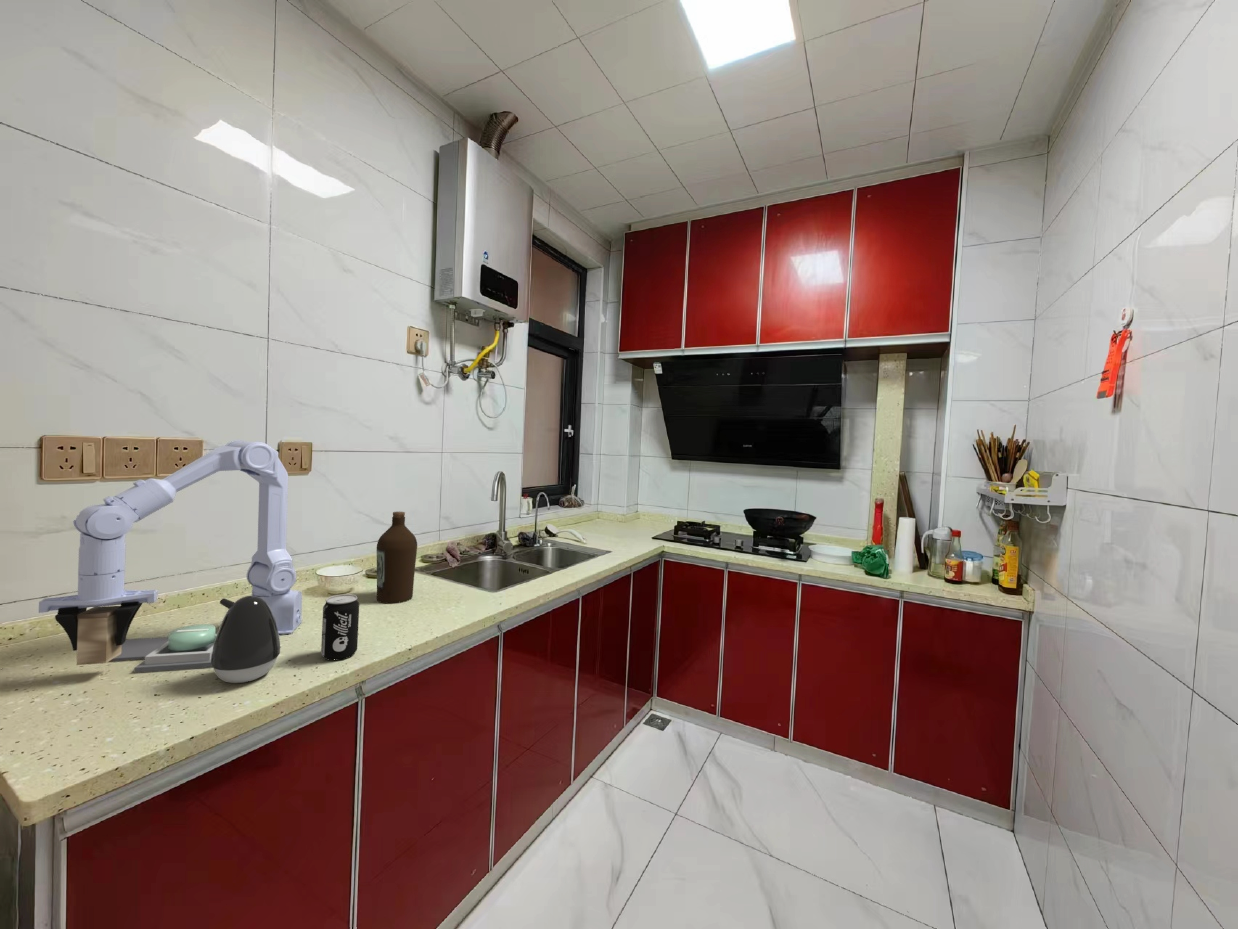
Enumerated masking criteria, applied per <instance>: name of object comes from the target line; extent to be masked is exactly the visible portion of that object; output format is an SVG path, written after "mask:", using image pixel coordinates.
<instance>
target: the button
mask: <svg viewBox="0 0 1238 929" xmlns="http://www.w3.org/2000/svg"><path fill="white" fill-rule="evenodd" d="M215 634H216V626H215V625H213V624H207V623H206V624H194V625H187V626H184V627H180V628H176V629H173V630H172V631H170V632H169V633H168V636H167V637H168V648H169V649H170V650H175V651H183V650H192V649H197V648H201V647H204V646H207V645H209V644H211V643H213V642H214V641H215Z"/></svg>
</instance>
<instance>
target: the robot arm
mask: <svg viewBox="0 0 1238 929" xmlns="http://www.w3.org/2000/svg"><path fill="white" fill-rule="evenodd" d="M224 471H225V472H226V471H227V472H229V471H231V472H232V471H239V472H243V473H245V474H247V475H249V477H251V478H253V479H254V480H255V481H256V482H258V485H259V486H258V512H257V514H258V518H257V550H256V552H255V553H254V554H253V555H252V557H251V562H250V563H251V564H250V565H249V567H248V570H247V572H246V580H247V582H248V584H250V585H251V587H252V588H251V596H258V597H260V598H262V599H263V600H264V601H265V602H266V603H267V604H268V606H269V607H270V609H271V611H272V613H273V616H274V618H275V621H276V624H277V628H278V633H279V635H288V634H289V635H291V634H292V633H293V632H294V631H295V630H297V628H298V627H299V626H300V624H302V621H303V620H302V609H303V608H302V607H303V594H302V593H303V592H302V591H301V590H294V589H292V588H293V586H294V585H295V584H296V581H297V576H298V575H297V572H296V570H295V568H294V564H293V562H294V561H293V560H294V559H292V556H291V555H290V553H289V552H288V551H287V534H288V533H287V532H288V531H287V530H288V528H287V527H288V498H289V497H288V496H289V495H288V494H289V473H288V471H287V469H286V468H285V466H284V465H283V462H281V459H280V458H279V451H277V450H276V449H274V448H273V447H271V446H270V445H269V444H267V443H265V442H261V441H244V440H239V439H237V440H233V441H229V442H227V443H226V444H225V445H221V446H217V447H216V448H213V449H212V450H210V451H209V452H208V453H206V454H204V455H202V456H201V457H199V458H197V459H196V460H194V461H191V463H189V464H187V465H185V466H183V467H182V468H180V469H178V470H177V471H174V472H173V473H171V474H170V475H168V476H166V477H164V478H162V479H158V478H147V479H146V480H143V479H137V480H135V481H134V482H132V485H134V486H132V487H130V488H128V489H126V490H124V491H122V492H120V493H118V494H116V495H114V496H107V497H105V498H103V499H102V500H103V502H104V503H99V504H92V505H90V506H87V507H85V508H83V509H82V510H80V512H79V514H78V515H77V516H76V518H75V519H74V520H73V526H74V528H75V529H76V530H77V531H78V533H79V532H80V534H79V548H78V568H77V569H78V570H77V571H78V572H77V594H73V595H67V596H66V595H64V596H58V597H57V596H56V597H50V598H49V597H47V598H44V599H42V600H40V601H39V602H38V613H39V614H43V613H48V612H53V611H57V613H56V615H54V620H55V621H56V622H57V623H58V624H59V625H60V626H61V628H63V630H64V632H65V633H66V635H67V636H68V640H69V641H70V643H71V647H72V651H76V652H77V634H78V619H77V615H78V614H80V613H82V612H84V611H87V610H88V608H93V607H104V606H120V607H118V608H117V609H116V610H115V614H116V621H117V634H116V646H118V645H122V644H123V643H124V642H125V640H126V639H127V635H128V632H129V630H130V629H129V628H130V627H131V625H132V622H133V620H134V618H135V616H136V615H137V613H138V611H139V610H140V608H141V607H142V605H143V604H145V603H146V604H155V603H156V602H157V601H158V596H159V595H158V594H159V592H158V591H159V589H153V590H125V580H126V577H125V576H126V550H127V549H126V548H127V547H126V546H127V544H126V535H127V534H128V533H129V532H130V531H131V529H132V528H133V525H134V523H138V522H140V521H141V520H144V519H145V518H146V517H149V516H150V515H152V514H155V513H156V512H157V511H159V510H161V509H163V508H165V507H167V506H168V505H170V504H171V503H173V502H174V500H175V497H176V494H177V493H178V492H179V491H182V490H184V489H186V488H188V487H191V486H192V485H193V484H197V483H198V482H200V481H202V480H204V479H206V478H208V477H210V476H211V475H214V474H216V473H218V472H224Z"/></svg>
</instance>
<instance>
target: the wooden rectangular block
mask: <svg viewBox="0 0 1238 929" xmlns="http://www.w3.org/2000/svg"><path fill="white" fill-rule="evenodd" d="M120 606H121V605H112V606H100V607H90V608H89V609H87V610H86V611H84V612H82V613H80V614H78V615H77V619H78V634H77V650H76V666H81V665H95V664H96V665H97V664H106V663H110V662H109V661H110V660H112V659H113V658H115V657H117V656H118V655H120V654H121V647H122V645H118V646H116V634H117V621H116V614H115V610H116V609H117V608H118V607H120Z"/></svg>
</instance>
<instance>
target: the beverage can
mask: <svg viewBox="0 0 1238 929" xmlns="http://www.w3.org/2000/svg"><path fill="white" fill-rule="evenodd" d="M359 618H360V603H359V600H358V596H357V595H355V594H346V593H345V594H335V595H332V596H329V597H327V598H326V599H325V603H324V605H323V607H322V623H321V624H322V625H321V627H322V628H321V649H320V654H321V656H322V657H323V658H324V659H325V660H327V659H329V660H328V661H337V660H336V659H342V660H345V659H347V658H346V657H348V658H350V657H352V656H353V655H354V654H355V653H356V652H357V650H358V640H359V638H358V637H359V622H360V620H359ZM352 654H353V655H352ZM351 655H352V656H351ZM349 656H350V657H349ZM344 658H345V659H344ZM334 659H335V660H334Z"/></svg>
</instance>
